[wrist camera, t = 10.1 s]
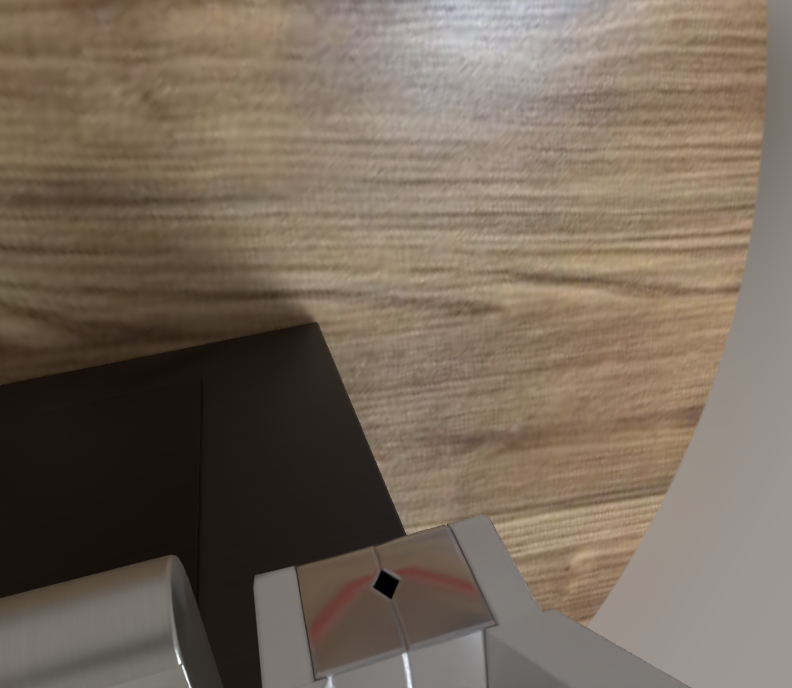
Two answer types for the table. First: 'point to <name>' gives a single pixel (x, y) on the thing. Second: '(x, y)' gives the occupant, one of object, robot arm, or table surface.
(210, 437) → the oven door
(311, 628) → the robot arm
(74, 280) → the table surface
